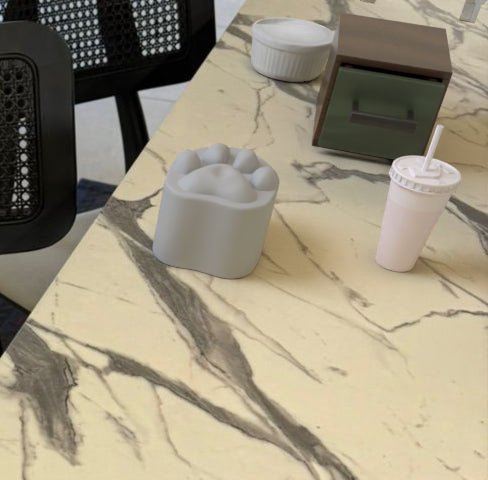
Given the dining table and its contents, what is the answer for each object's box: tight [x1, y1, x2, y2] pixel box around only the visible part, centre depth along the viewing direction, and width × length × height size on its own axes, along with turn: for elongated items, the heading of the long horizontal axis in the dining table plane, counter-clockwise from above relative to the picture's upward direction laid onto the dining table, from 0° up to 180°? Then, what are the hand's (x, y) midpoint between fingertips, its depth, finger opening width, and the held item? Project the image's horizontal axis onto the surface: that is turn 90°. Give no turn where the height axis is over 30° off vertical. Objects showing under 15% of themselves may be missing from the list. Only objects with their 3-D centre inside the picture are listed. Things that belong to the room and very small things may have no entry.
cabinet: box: [311, 12, 454, 161], centre depth 122 cm, size 16×13×11 cm
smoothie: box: [374, 124, 463, 273], centre depth 96 cm, size 6×6×14 cm
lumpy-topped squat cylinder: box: [152, 142, 280, 280], centre depth 99 cm, size 10×13×9 cm
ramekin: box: [250, 16, 335, 83], centre depth 137 cm, size 11×11×5 cm
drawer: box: [317, 62, 445, 160], centre depth 118 cm, size 19×11×9 cm, turn 165°
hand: (416, 10), depth 99 cm, fingers open, 8 cm apart
